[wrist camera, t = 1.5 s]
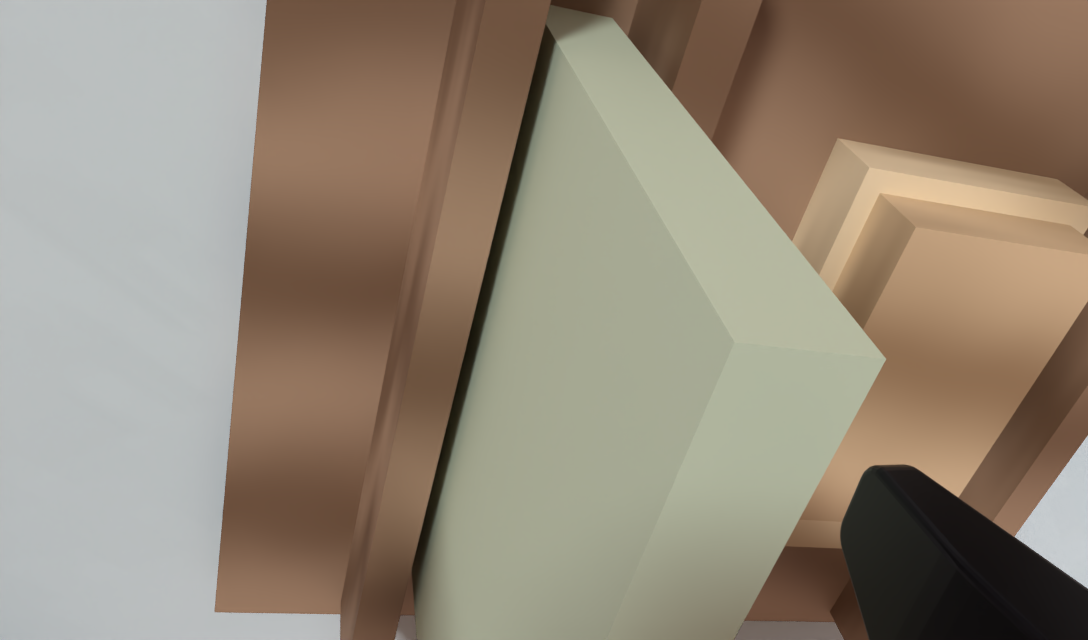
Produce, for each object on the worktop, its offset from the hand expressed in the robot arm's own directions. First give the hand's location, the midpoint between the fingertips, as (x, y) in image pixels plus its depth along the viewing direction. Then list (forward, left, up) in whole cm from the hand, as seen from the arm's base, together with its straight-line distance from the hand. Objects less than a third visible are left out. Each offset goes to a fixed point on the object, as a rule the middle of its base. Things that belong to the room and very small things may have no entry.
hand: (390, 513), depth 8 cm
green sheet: (-5, -4, -11) cm, 13 cm away
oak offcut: (-4, -13, -10) cm, 17 cm away
